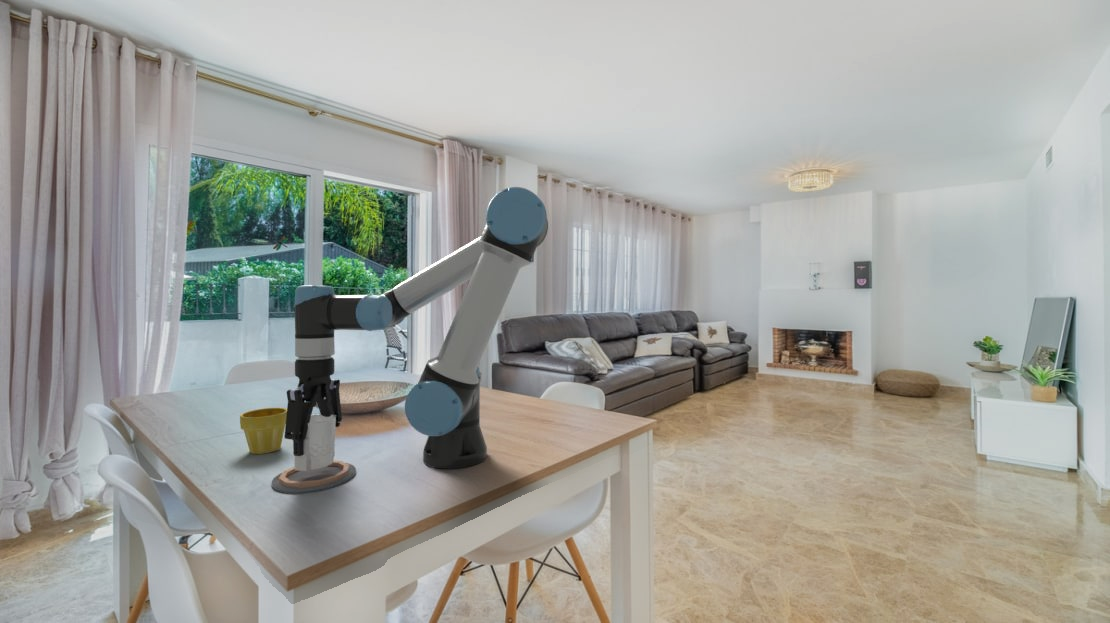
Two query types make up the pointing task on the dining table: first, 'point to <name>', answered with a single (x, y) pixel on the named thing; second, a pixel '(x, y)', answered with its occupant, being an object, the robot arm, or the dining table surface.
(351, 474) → the trivet
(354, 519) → the dining table surface
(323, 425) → the white cup
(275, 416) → the plant pot
